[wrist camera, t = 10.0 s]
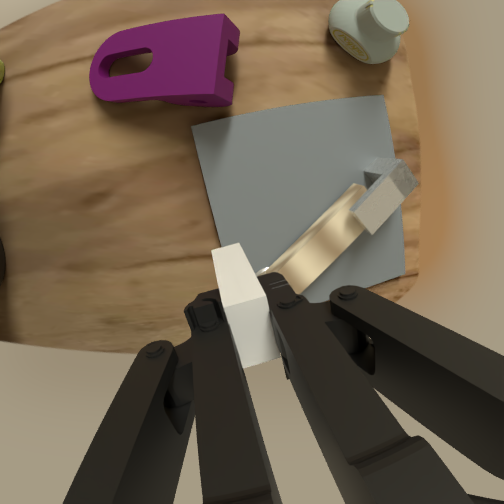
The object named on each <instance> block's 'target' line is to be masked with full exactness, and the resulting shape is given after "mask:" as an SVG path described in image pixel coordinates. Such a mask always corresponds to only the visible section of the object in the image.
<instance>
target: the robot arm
mask: <svg viewBox="0 0 504 504" xmlns="http://www.w3.org/2000/svg"><path fill="white" fill-rule="evenodd" d="M211 251H212V256H213V261H214V266H215V271H216V276H217V281H218V286H219V288H218V289H215V290H211V291H207V292H204V293H200V294H198V296H197V297H196V298H195V300H194V301H193V302H191V303H189V304H188V305H187V306H186V307H185V309H184V313H185V316H186V318H187V321H188V324H189V326H190V329H191V338H190V339H188V340H187V341H186V342H184V343H182V344H180V345H178V346H175V347H174V346H173V345H172V343H171V342H169V341H166V340H160V341H154V342H151V343H149V344H147V345H146V346H145V347H143V348H142V349H141V350H140V351H139V353H138V354H137V356H136V358H135V360H134V362H133V364H132V365H131V367H130V369H129V371H128V373H127V375H126V377H125V378H124V381H123V382H122V384H121V386H120V388H119V390H118V392H117V394H116V395H115V398H114V399H113V401H112V403H111V405H110V407H109V409H108V411H107V413H106V415H105V417H104V419H103V421H102V423H101V425H100V427H99V428H98V430H97V432H96V434H95V436H94V438H93V441H92V443H91V445H90V447H89V449H88V451H87V453H86V455H85V457H84V459H83V461H82V463H81V465H80V468H79V470H78V471H77V474H76V476H75V478H74V480H73V482H72V485H71V486H70V488H69V491H68V493H67V495H66V497H65V499H64V502H63V504H173V501H174V498H175V493H176V489H177V485H178V481H179V477H180V473H181V469H182V465H183V461H184V457H185V453H186V449H187V445H188V440H189V437H190V433H191V428H192V425H193V421H194V417H195V418H196V431H197V444H198V456H199V466H200V476H201V486H202V495H203V504H282V501H281V498H280V494H279V491H278V488H277V485H276V482H275V478H274V475H273V472H272V468H271V465H270V461H269V458H268V455H267V451H266V448H265V445H264V441H263V437H262V434H261V431H260V427H259V423H258V420H257V416H256V413H255V409H254V406H253V402H252V398H251V395H250V391H249V387H248V384H247V380H246V376H245V373H244V370H243V368H246V367H250V366H253V365H256V364H260V363H264V362H267V361H270V360H273V359H277V358H280V357H281V356H282V360H283V365H284V369H285V373H286V378H287V379H290V381H291V383H292V385H293V388H294V390H295V392H296V395H297V397H298V399H299V402H300V404H301V406H302V408H303V411H304V413H305V415H306V417H307V420H308V422H309V424H310V426H311V429H312V431H313V433H314V435H315V438H316V440H317V442H318V444H319V447H320V449H321V451H322V453H323V456H324V458H325V460H326V462H327V464H328V467H329V469H330V471H331V473H332V475H333V478H334V480H335V482H336V484H337V486H338V488H339V491H340V493H341V495H342V497H343V499H344V502H345V504H504V501H500V500H495V499H490V498H484V497H480V496H475V495H470V494H467V493H466V492H465V491H464V489H463V488H462V487H461V485H460V484H459V483H458V481H457V480H456V479H455V477H454V476H453V475H452V473H451V472H450V471H449V469H448V468H447V466H446V465H445V464H444V462H443V461H442V460H441V458H440V457H439V456H438V455H437V453H436V452H435V451H434V449H433V448H432V447H431V445H430V444H429V443H428V442H427V441H426V440H425V439H424V438H422V437H421V436H414V437H410V436H408V434H407V433H406V432H405V431H404V429H403V428H402V427H401V425H400V424H399V423H398V421H397V420H396V418H395V417H394V416H393V414H392V413H391V412H390V410H389V409H388V408H387V406H386V405H385V403H384V402H383V401H382V399H381V398H380V397H379V395H378V394H377V392H376V391H375V390H374V388H375V389H376V390H377V391H379V392H380V393H381V394H382V395H384V396H385V397H386V398H388V399H389V400H390V401H391V402H393V403H394V404H395V405H397V406H398V407H400V408H401V409H402V410H403V411H405V412H406V413H407V414H409V415H410V416H411V417H413V418H414V419H415V420H417V421H418V422H419V423H421V424H422V425H423V426H425V427H426V428H427V429H429V430H430V431H432V432H433V433H434V434H436V435H437V436H438V437H440V438H441V439H442V440H444V441H445V442H446V443H448V444H449V445H451V446H452V447H453V448H455V449H456V450H458V451H459V452H460V453H462V454H463V455H464V456H466V457H467V458H469V459H470V460H471V461H473V462H474V463H476V464H477V465H478V466H480V467H481V468H483V469H484V470H486V471H488V472H489V473H491V474H493V475H494V476H496V477H498V478H501V479H503V480H504V356H502V355H500V354H498V353H497V352H494V351H493V350H490V349H488V348H486V347H484V346H482V345H480V344H478V343H476V342H474V341H472V340H470V339H468V338H466V337H464V336H462V335H460V334H458V333H456V332H454V331H452V330H450V329H448V328H445V327H444V326H442V325H440V324H438V323H435V322H433V321H431V320H429V319H427V318H425V317H423V316H421V315H419V314H417V313H415V312H413V311H410V310H409V309H406V308H404V307H402V306H400V305H398V304H396V303H394V302H392V301H390V300H388V299H386V298H383V297H381V296H379V295H377V294H375V293H373V292H371V291H369V290H367V289H365V288H362V287H359V286H353V285H346V286H342V287H340V288H337V289H335V290H334V291H332V292H331V294H330V295H329V299H330V301H328V302H321V303H310V302H309V301H308V300H307V298H306V297H304V296H303V295H299V294H296V293H295V291H294V290H293V289H292V287H291V286H290V284H289V283H288V282H287V280H286V279H285V277H284V276H283V275H282V274H280V273H277V272H271V273H268V274H264V275H261V276H257V277H256V275H255V273H254V271H253V269H252V267H251V265H250V263H249V261H248V259H247V257H246V255H245V253H244V251H243V249H242V247H241V245H240V244H239V243H236V244H232V245H229V246H225V247H221V248H218V249H214V250H211ZM4 273H5V255H4V249H3V245H2V242H1V239H0V285H1V283H2V281H3V278H4ZM369 337H370V338H371V339H370V338H369ZM279 351H280V352H279ZM280 353H281V356H280Z"/></svg>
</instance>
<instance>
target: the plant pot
mask: <svg viewBox="0 0 504 504" xmlns="http://www.w3.org/2000/svg"><path fill="white" fill-rule="evenodd" d="M4 72H5V68H4V64H3V62H2V61H1V60H0V83H1V82H2V80H3V77H4Z"/></svg>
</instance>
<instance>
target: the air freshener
mask: <svg viewBox="0 0 504 504" xmlns="http://www.w3.org/2000/svg"><path fill="white" fill-rule="evenodd" d="M328 22H329V29H330V33H331V35H332V36H333V38H334V39H335V40H336V42H337V43H338V44H339V45H340V46H341V47H342V48H343V49H344V50H345V51H347V52H348V53H349V54H350V55H352V56H353V57H355V58H356V59H358V60H360V61H362V62H364V63H368V64H379V63H383V62H385V61H387V60H389V59H390V58H392V57H393V56H394V55H395V53H396V52H397V50H398V48H399V44H400V35H401V34H403V33H404V32H406V31H407V29H408V27H409V18H408V15H407V13H406V10H405V9H404V7H403V6H402V5H401V4H400V3H399V2H397V1H396V0H339V1H338V2H337V3H336V4H335V5H334V6H333V8H332V9H331V11H330V14H329V20H328Z"/></svg>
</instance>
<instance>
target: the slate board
mask: <svg viewBox="0 0 504 504" xmlns="http://www.w3.org/2000/svg"><path fill="white" fill-rule="evenodd" d="M191 128H192V132H193V137H194V141H195V145H196V149H197V153H198V157H199V161H200V165H201V169H202V173H203V177H204V181H205V185H206V189H207V193H208V197H209V201H210V205H211V208H212V212H213V216H214V220H215V224H216V228H217V231H218V235H219V239H220V243H221V247H225V246H229V245H232V244H236V243H239V244H240V245H241V247H242V249H243V251H244V253H245V255H246V257H247V259H248V261H249V263H250V265H251V267H252V269H253V271H254V273H256V272H258V271H259V270H260V269H262V268H265V267H270V266H271V265H272V264H273V263H274V262H275V261H276V260H277V259H278V258H279V257H280V256H281V255H282V254H283V253H284V252H285V251H286V250H287V249H288V248H289V247H290V246H291V245H292V244H293V243H294V242H295V241H296V240H297V239H298V238H299V237H300V236H301V235H303V234H304V233H305V232H306V231H307V230H308V229H309V228H310V227H311V226H312V225H313V224H314V223H315V222H316V221H317V220H318V219H319V218H320V217H321V216H322V215H323V214H324V213H325V212H326V211H327V210H328V209H329V208H330V207H331V206H332V205H333V204H334V203H335V202H336V201H337V200H338V199H339V198H340V197H341V196H342V195H343V194H344V193H345V192H346V191H347V189H348V188H349V187H350V186H351V185H352V184H353V183H354V184H359V185H363V186H364V187H365V188H366V189H367V190H368V189H369V188H370V187H371V186H372V185H373V183H372V181H371V180H370V179H369V177H368V176H367V175H366V173H365V172H364V170H365V169H366V168H367V167H368V166H369V165H370V164H371V163H372V162H373V161H374V160H375V159H376V158H377V157H380V158H392V159H395V155H394V148H393V142H392V136H391V130H390V125H389V120H388V115H387V110H386V105H385V100H384V96H383V95H374V96H362V97H352V98H342V99H333V100H325V101H317V102H310V103H303V104H297V105H290V106H284V107H278V108H272V109H267V110H262V111H256V112H251V113H246V114H242V115H237V116H232V117H228V118H223V119H219V120H215V121H210V122H206V123H202V124H198V125H194V126H191ZM403 274H405V256H404V238H403V224H402V212H401V204H400V205H399V206H398V207H397V208H396V210H395V211H394V212H393V213H392V214H391V215H390V216H389V217H388V218H387V220H386V221H385V222H384V223H383V224H382V225H381V226H380V227H379V228H378V229H377V230H376V231H375V233H374V234H373V235H371V234H369V233H367V232H366V231H365V230H364V231H363V232H362V233H361V234H360V235H359V236H358V237H357V238H356V239H355V240H354V241H353V242H352V243H351V244H350V245H349V246H348V247H347V248H346V249H345V250H344V251H343V252H342V253H341V254H340V255H339V256H338V257H337V258H336V259H335V260H334V261H333V262H332V263H331V264H330V265H329V266H328V267H327V268H326V269H325V270H324V271H323V272H322V273H321V274H320V275H319V276H318V277H317V278H316V279H315V280H314V281H313V282H312V283H311V284H310V285H309V286H308V287H307V288H306V289H305V290H304V291H303V292H301V293H300V294H299V295H303V296H304V297H306V298H307V300H308V301H309V302H310V303H321V302H324V301H327V300H330V299H329V295H330V294H331V292H332V291H334V290H335V289H337V288H340V287H342V286H346V285H353V286H359V287H362V288H367V287H370V286H372V285H375V284H378V283H381V282H384V281H387V280H390V279H392V278H395V277H398V276H401V275H403Z"/></svg>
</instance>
